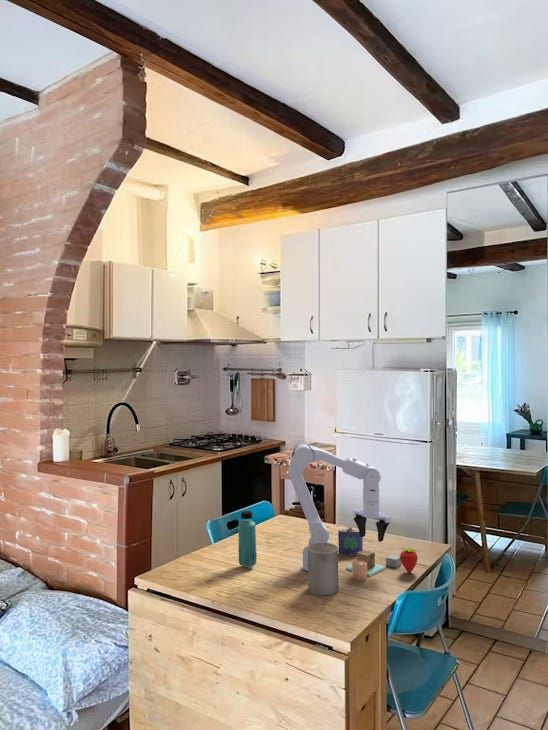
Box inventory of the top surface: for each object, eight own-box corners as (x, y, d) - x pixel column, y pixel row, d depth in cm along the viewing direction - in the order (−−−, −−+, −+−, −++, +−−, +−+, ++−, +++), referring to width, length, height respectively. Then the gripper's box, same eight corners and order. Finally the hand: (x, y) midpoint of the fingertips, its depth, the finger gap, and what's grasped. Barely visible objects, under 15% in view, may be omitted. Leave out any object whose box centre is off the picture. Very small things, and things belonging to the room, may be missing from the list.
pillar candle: (319, 581, 187) (318, 536, 187) (344, 588, 181) (343, 542, 181) (302, 591, 180) (301, 544, 180) (327, 599, 174) (326, 550, 173)
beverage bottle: (254, 571, 196) (253, 514, 196) (236, 570, 198) (235, 513, 198) (258, 564, 203) (258, 509, 203) (240, 563, 204) (240, 508, 204)
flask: (362, 552, 215) (362, 524, 214) (363, 555, 212) (363, 527, 212) (338, 552, 215) (337, 524, 215) (338, 555, 212) (338, 527, 212)
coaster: (369, 576, 191) (369, 574, 191) (345, 569, 198) (345, 567, 198) (385, 568, 198) (385, 566, 198) (362, 561, 205) (362, 559, 205)
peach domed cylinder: (361, 582, 187) (361, 567, 186) (349, 578, 190) (349, 563, 190) (370, 577, 190) (370, 563, 190) (357, 574, 194) (357, 559, 194)
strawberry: (398, 575, 192) (397, 546, 192) (402, 567, 199) (402, 539, 199) (415, 578, 189) (415, 548, 189) (419, 570, 196) (419, 541, 196)
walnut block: (367, 570, 195) (367, 555, 195) (356, 566, 198) (356, 552, 198) (374, 566, 198) (374, 552, 198) (364, 563, 201) (364, 549, 201)
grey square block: (396, 568, 199) (396, 559, 199) (385, 565, 201) (385, 557, 201) (401, 564, 202) (401, 556, 202) (390, 562, 205) (390, 554, 205)
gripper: (394, 501, 197) (395, 540, 198) (360, 495, 208) (361, 531, 208) (383, 505, 192) (384, 545, 192) (349, 499, 202) (350, 536, 203)
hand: (371, 538), depth 200 cm, fingers open, 7 cm apart
